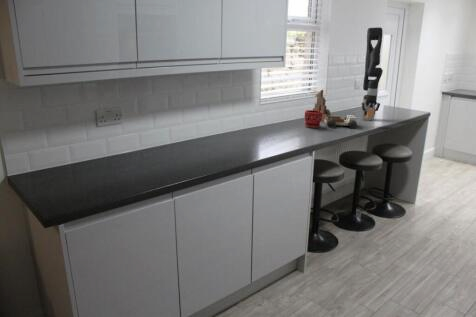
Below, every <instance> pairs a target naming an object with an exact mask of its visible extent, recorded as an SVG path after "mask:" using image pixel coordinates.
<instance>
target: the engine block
mask: <svg viewBox="0 0 476 317" xmlns="http://www.w3.org/2000/svg"><path fill="white" fill-rule="evenodd" d="M374 113H375V114H376V111H374V110H373V109H368V110H367V116H365V117H366V118H372V119H374V118H375V115H374Z"/></svg>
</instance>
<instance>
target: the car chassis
mask: <svg viewBox="0 0 476 317" xmlns="http://www.w3.org/2000/svg"><path fill="white" fill-rule="evenodd" d="M323 123H325V125H326V126H327V127H328V128H334V127H335V126H348V127H349V128H350V129H355V128H356V127H357V125H358V123H357V117H356V116H355V115H353V114H347V115H346V116H345V117H344V118H343V117H342V116H334V115H333V116H331V115H330V116H329V115H327V116H325V117H324V122H323Z"/></svg>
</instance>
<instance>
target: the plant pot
mask: <svg viewBox="0 0 476 317" xmlns="http://www.w3.org/2000/svg"><path fill="white" fill-rule="evenodd" d="M322 113H323V112H321V111H316V110H313V109H312V110H311V109H309V110H308V109H307V110H305V111H304V122H305V123H304V126H305V127H307V128H310V129H311V128H312V129H317V128H319V127H320V126H321V124H320V123H321V122H322V120H321V119H322ZM320 116H321V117H320ZM312 117H313V118H312ZM317 117H318V119H317Z"/></svg>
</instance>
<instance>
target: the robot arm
mask: <svg viewBox="0 0 476 317" xmlns="http://www.w3.org/2000/svg"><path fill="white" fill-rule="evenodd" d="M383 35H384V34H383V27H369V28H368V29H367V33H366V53H365V65H364V76H363V83H362V84H363V85H362V88H363V91H366V94H365V95H363V99H362V102H361V108H362V109H361V116H360V120H361V121H362V120H363V121H370V122H371V121H373V118H366V117H365V116H367V110H368V109H373V110H374V111H375V113H374V116H375V115H376V112H377V111H379V108H380V106H381V103H380V102H377V101H378V100H377V98H378V93H379V92H378V91H379V90H378V89H379V83H380V80H381V78H382V75H383V71H384V70H383V68H382V67H377V66H380V65H381V64H380V63H381V50H382V42H383ZM372 41H377V42H376V45H375V47H374V46H373V44H372ZM369 78H374V79H369Z"/></svg>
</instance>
